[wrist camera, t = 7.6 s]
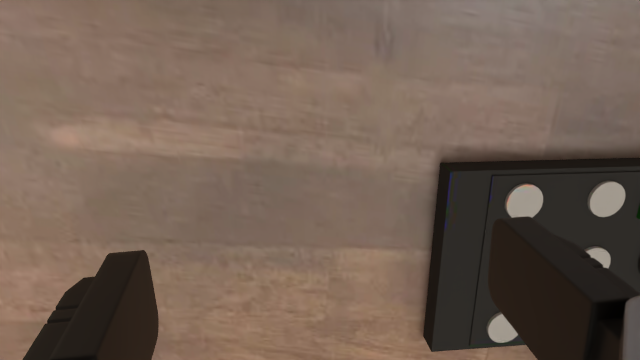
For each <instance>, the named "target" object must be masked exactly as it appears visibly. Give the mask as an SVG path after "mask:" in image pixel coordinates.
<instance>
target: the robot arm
mask: <svg viewBox="0 0 640 360" xmlns="http://www.w3.org/2000/svg"><path fill="white" fill-rule="evenodd" d="M488 287H489V292H490V295H491V298H492V300H493V302H494V304H495V305H496V307H497V308H498V309H499V310H500V312H501V313H502V314H503V316H504V317H505V318H506V319H507V321H508V322H509V323H510V325H511V326H512V327H513V328H514V330H515V331H516V332H517V334H518V335H519V336H520V337H521V339H522V340H523V341H524V343H525V344H526V345H527V346H528V348H529V349H530V350H531V352H532V353H533V354H534V355H535V357H536V358H537V359H538V360H640V293H639V292H637V291H636V290H635V289H633V288H632V287H631V286H630V285H628V284H627V283H626V282H624V281H623V280H622V279H621V278H619V277H618V276H617V275H615V274H614V273H613V272H612V271H610V270H609V269H608V268H604V267H603V265H602V264H601V263H600V262H599V261H597V260H596V259H595V258H591V255H590V254H588V253H587V252H586V251H584V250H583V249H582V248H581V247H579V246H578V245H577V244H575V243H573V242H571V241H568V240H566V239H564V238H562V237H559V236H557V235H555V234H552V233H550V232H549V231H548V230H547V229H545V228H544V227H543V226H542V225H540V224H539V223H538V222H537V221H535V220H534V219H533V218H531V217H529V216H525V217H514V218H503V219H497V220H496V221H495V222H494V224H493V227H492V235H491V247H490V259H489V270H488ZM157 337H158V310H157V305H156V299H155V293H154V288H153V282H152V276H151V271H150V265H149V260H148V256H147V253H146V252H145V251H144V250H140V251H129V252H118V253H109V254H108V255H107V256H106V258H105V260H104V262H103V264H102V265H101V267H100V269H99V271H98V272H97V274H96V276H95V277H88V278H83V279H82V280H80V281H79V282H78V283H77V284H75V285H74V286H73V287H71V288H70V289H69V290H67V291H66V292H65V294H64V295H63V297H62V298H61V300H60V301H59V303H58V305H57V306H56V311H53V312H52V314H51V316H50V317H49V319H48V320H47V324H45V325H44V327H43V328H42V330H41V331H40V333H39V335H38V336H37V338H36V339H35V341H34V342H33V344H32V346H31V347H30V349H29V350H28V352H27V354H26V355H25V357H24V358H23V360H151V359H152V356H153V352H154V348H155V345H156V341H157Z"/></svg>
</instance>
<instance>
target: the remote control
mask: <svg viewBox="0 0 640 360" xmlns="http://www.w3.org/2000/svg"><path fill="white" fill-rule="evenodd" d="M525 216H529V217H531V218H533V219H534V220H535V221H537V222H538V223H539V224H540V225H542V226H543V227H544V228H545V229H547V230H548V231H549V232H550V233H552V234H555V235H557V236H559V237H562V238H564V239H566V240H568V241H571V242H573V243H575V244H577V245H578V246H579V247H581V248H582V249H583V250H584V251H586V252H587V253H588V254H590V255H591V258H595V259H596V260H597V261H599V262H600V263H601V264H602V265H603V267H604V268H608V269H609V270H610V271H612V272H613V273H614V274H615V275H617V276H618V277H619V278H621V279H622V280H623V281H624V282H626V283H627V284H628V285H630V286H631V287H632V288H633V289H635V290H636V291H637V292H639V293H640V158H620V159H581V160H541V161H501V162H462V163H440V174H439V184H438V194H437V204H436V215H435V225H434V235H433V245H432V256H431V266H430V276H429V286H428V296H427V307H426V317H425V327H424V338H425V340H426V342H427V344H428V346H429V348H430V350H431V352H434V351H447V350H461V349H475V348H488V347H502V346H516V345H526V344H525V343H524V341H523V340H522V339H521V337H520V336H519V335H518V334H517V332H516V331H515V330H514V328H513V327H512V326H511V325H510V323H509V322H508V321H507V319H506V318H505V317H504V316H503V314H502V313H501V312H500V310H499V309H498V308H497V307H496V305H495V304H494V302H493V300H492V298H491V295H490V292H489V287H488V270H489V259H490V247H491V235H492V227H493V224H494V222H495V221H496V220H497V219H503V218H514V217H525Z"/></svg>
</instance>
